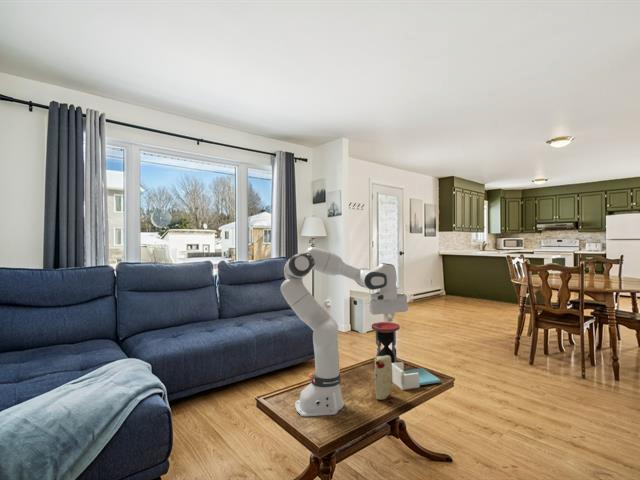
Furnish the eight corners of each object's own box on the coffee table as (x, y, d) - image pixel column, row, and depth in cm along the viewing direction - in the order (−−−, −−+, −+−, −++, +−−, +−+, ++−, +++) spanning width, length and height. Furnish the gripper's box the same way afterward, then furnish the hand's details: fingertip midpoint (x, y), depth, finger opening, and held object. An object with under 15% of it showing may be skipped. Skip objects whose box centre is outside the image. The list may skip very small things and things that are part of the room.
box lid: (419, 382, 167) (440, 379, 170) (403, 370, 183) (422, 368, 186) (419, 386, 167) (440, 383, 170) (403, 374, 183) (422, 371, 186)
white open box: (402, 389, 164) (401, 371, 165) (386, 376, 181) (386, 360, 181) (419, 387, 167) (418, 369, 167) (402, 374, 183) (402, 358, 183)
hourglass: (387, 360, 205) (386, 320, 205) (407, 368, 191) (405, 325, 191) (367, 366, 196) (366, 324, 196) (386, 375, 182) (385, 330, 183)
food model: (380, 403, 152) (379, 359, 152) (371, 397, 157) (370, 355, 158) (396, 397, 157) (395, 355, 157) (387, 392, 162) (385, 351, 163)
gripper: (403, 292, 175) (404, 318, 175) (367, 295, 170) (368, 322, 170) (409, 294, 169) (410, 321, 169) (372, 297, 164) (373, 325, 164)
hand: (389, 321), depth 169 cm, fingers closed
